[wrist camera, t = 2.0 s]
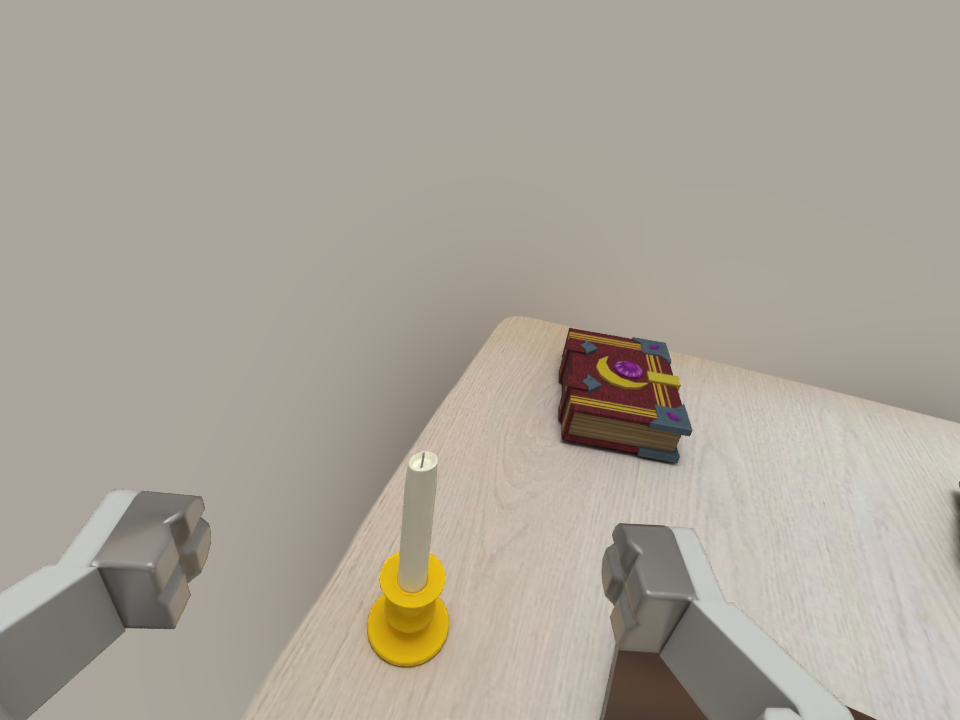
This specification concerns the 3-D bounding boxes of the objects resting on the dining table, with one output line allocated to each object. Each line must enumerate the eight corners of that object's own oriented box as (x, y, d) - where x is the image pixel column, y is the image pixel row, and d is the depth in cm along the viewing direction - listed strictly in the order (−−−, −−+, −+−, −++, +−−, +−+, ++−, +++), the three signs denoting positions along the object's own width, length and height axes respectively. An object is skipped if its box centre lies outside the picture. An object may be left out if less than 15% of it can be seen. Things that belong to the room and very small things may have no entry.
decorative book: (557, 443, 51) (569, 403, 48) (558, 352, 64) (568, 316, 61) (676, 466, 50) (695, 426, 48) (653, 369, 64) (666, 334, 61)
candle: (351, 645, 33) (347, 468, 24) (392, 577, 37) (401, 404, 29) (427, 682, 32) (452, 510, 23) (460, 607, 36) (492, 437, 27)
